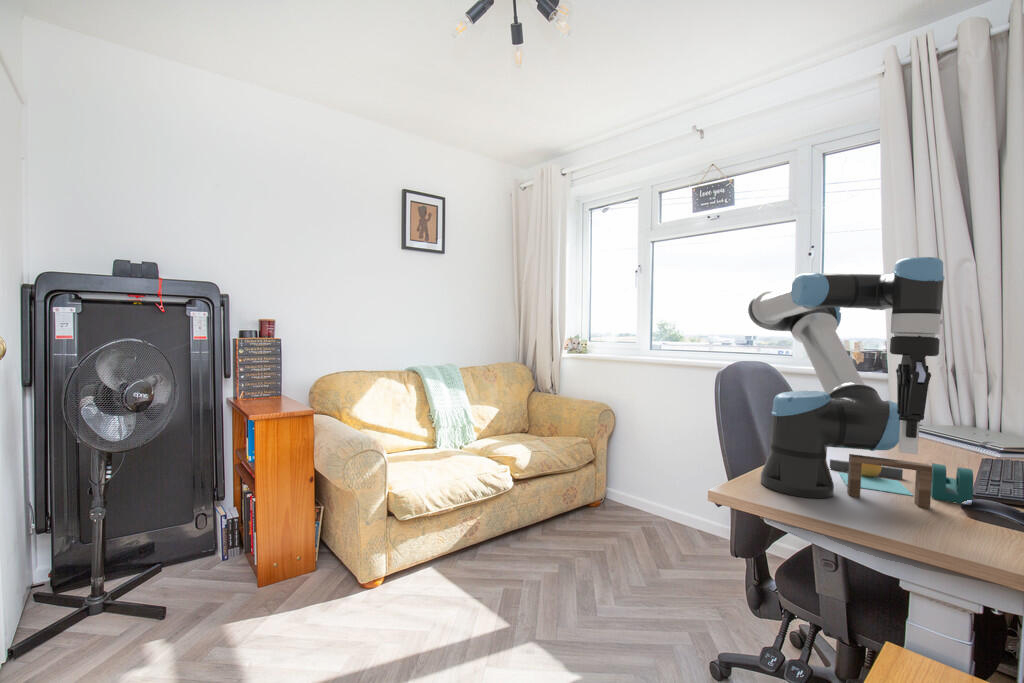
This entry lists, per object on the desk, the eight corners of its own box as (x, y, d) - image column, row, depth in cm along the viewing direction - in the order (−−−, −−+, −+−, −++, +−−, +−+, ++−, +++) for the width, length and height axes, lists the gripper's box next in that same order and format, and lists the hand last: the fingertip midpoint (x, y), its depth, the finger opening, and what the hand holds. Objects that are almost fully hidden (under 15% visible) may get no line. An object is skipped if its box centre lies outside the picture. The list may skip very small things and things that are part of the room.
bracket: (972, 507, 106) (974, 472, 106) (931, 499, 110) (933, 466, 110) (961, 488, 120) (963, 457, 120) (926, 482, 124) (928, 452, 124)
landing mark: (846, 485, 118) (846, 485, 118) (838, 472, 129) (838, 472, 129) (913, 496, 112) (913, 495, 112) (898, 481, 123) (898, 480, 123)
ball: (858, 465, 124) (856, 450, 128) (855, 479, 127) (853, 464, 131) (884, 468, 122) (881, 453, 126) (880, 483, 125) (877, 467, 129)
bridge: (929, 508, 103) (932, 467, 103) (849, 495, 110) (851, 456, 110) (925, 504, 106) (927, 463, 106) (847, 492, 113) (849, 453, 112)
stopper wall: (830, 469, 133) (830, 460, 133) (829, 467, 134) (829, 459, 134) (902, 479, 125) (902, 469, 125) (900, 477, 127) (901, 468, 127)
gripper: (951, 336, 87) (943, 463, 88) (928, 336, 99) (921, 448, 99) (899, 334, 91) (892, 456, 91) (883, 335, 102) (877, 443, 103)
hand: (907, 452), depth 95 cm, fingers closed
